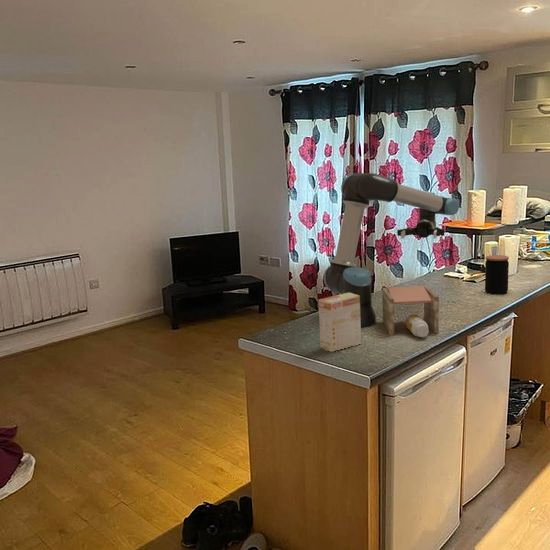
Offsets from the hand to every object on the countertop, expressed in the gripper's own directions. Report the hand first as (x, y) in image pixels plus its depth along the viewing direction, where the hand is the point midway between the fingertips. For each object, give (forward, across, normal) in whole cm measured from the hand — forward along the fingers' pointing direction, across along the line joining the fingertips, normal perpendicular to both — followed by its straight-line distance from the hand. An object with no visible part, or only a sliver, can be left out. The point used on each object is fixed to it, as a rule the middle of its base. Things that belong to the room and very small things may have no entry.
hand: (418, 235), depth 236 cm
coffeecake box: (+45, +23, -36) cm, 62 cm away
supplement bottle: (+19, 0, -33) cm, 38 cm away
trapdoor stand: (+16, +1, -36) cm, 40 cm away
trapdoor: (+16, +2, -23) cm, 28 cm away
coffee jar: (-49, -31, -36) cm, 68 cm away
